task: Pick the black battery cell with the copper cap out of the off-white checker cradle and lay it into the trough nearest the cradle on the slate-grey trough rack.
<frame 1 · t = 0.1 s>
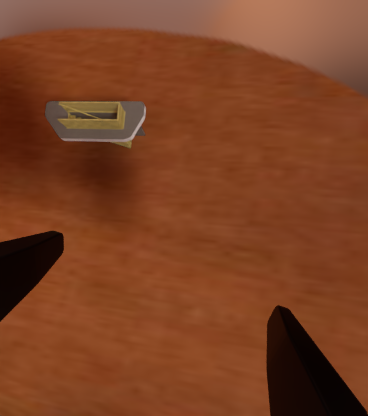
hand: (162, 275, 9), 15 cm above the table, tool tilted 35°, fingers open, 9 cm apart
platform: (113, 143, 27), on the table
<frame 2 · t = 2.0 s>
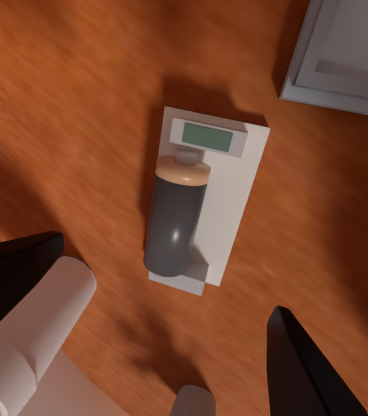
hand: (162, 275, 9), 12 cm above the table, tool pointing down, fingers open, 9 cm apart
checker cradle: (197, 203, 21), on the table
battery cell: (192, 213, 20), point 1 cm above the table, tilted 37°, touching checker cradle
foam cup: (75, 276, 29), on the table
house plant: (192, 389, 31), on the table
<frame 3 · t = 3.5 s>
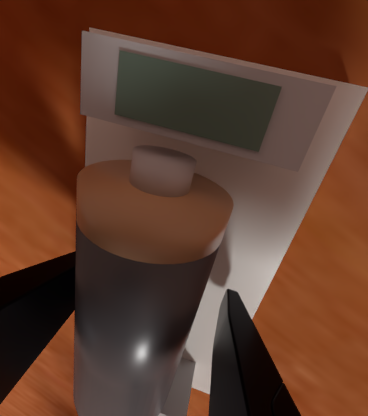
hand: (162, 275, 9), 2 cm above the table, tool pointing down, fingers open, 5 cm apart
checker cradle: (175, 251, 10), on the table
battery cell: (167, 272, 10), point 1 cm above the table, tilted 14°, touching checker cradle
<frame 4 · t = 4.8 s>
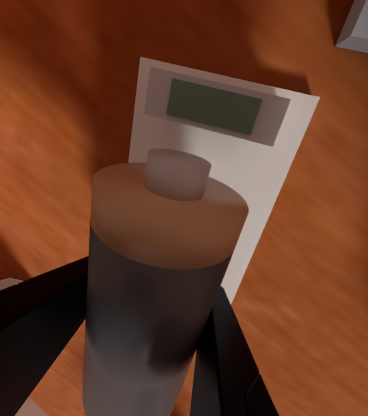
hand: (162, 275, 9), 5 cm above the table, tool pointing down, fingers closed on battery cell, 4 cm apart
checker cradle: (191, 216, 14), on the table
battery cell: (165, 270, 10), point 5 cm above the table, touching gripper
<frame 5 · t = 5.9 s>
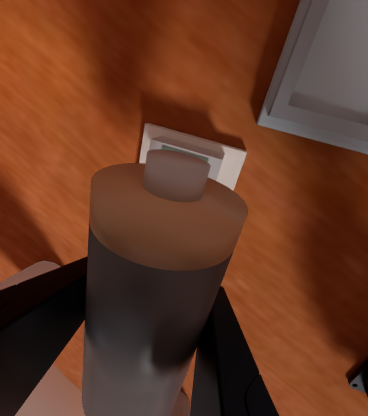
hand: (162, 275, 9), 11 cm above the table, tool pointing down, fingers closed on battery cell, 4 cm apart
checker cradle: (176, 217, 21), on the table
battery cell: (164, 271, 10), point 11 cm above the table, touching gripper
foam cup: (54, 280, 29), on the table
house plant: (168, 390, 32), on the table
when the fingers open (3 cm above the table, at t = 8.1 s): battery cell drops 1 cm, resting on trough rack.
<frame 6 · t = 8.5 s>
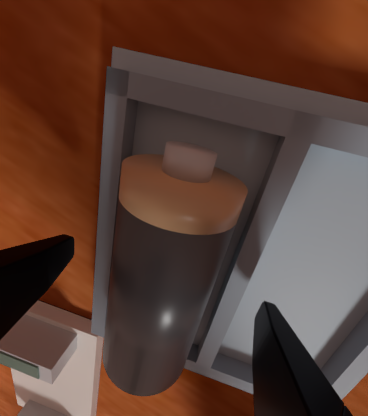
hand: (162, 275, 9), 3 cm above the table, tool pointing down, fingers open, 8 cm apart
checker cradle: (58, 365, 20), on the table
trough rack: (238, 250, 12), on the table
battery cell: (174, 251, 11), point 1 cm above the table, touching trough rack
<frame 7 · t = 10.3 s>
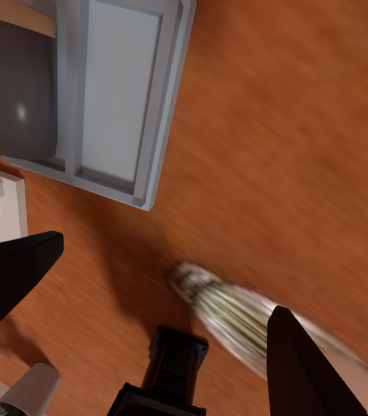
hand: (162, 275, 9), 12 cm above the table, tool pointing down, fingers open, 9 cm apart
trough rack: (91, 98, 19), on the table
battery cell: (44, 90, 18), point 2 cm above the table, touching trough rack
house plant: (43, 366, 39), on the table
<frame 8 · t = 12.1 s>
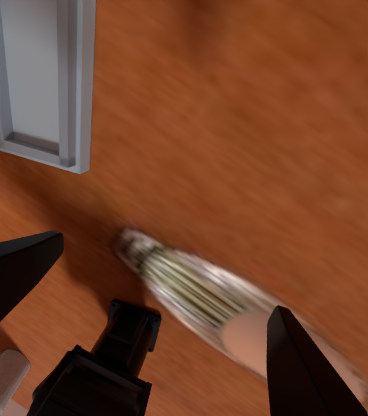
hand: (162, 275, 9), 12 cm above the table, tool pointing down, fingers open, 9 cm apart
trough rack: (18, 64, 19), on the table
house plant: (13, 353, 39), on the table
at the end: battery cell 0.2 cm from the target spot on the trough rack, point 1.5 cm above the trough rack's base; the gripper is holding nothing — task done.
